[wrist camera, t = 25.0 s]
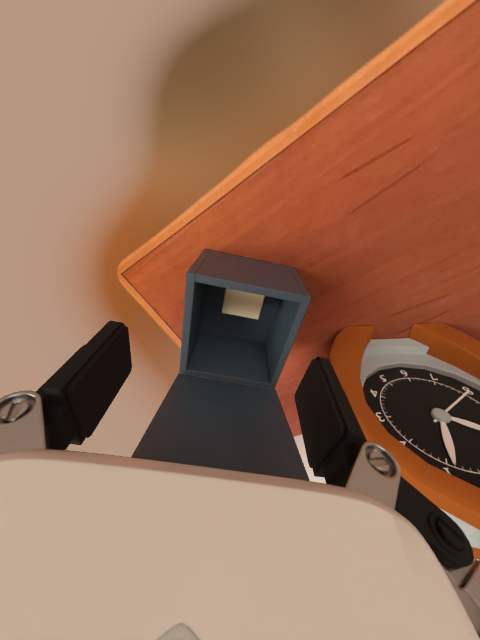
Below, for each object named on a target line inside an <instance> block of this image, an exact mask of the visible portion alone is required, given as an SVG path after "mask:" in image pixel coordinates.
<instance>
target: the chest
mask: <svg viewBox="0 0 480 640" xmlns="http://www.w3.org/2000/svg"><path fill="white" fill-rule="evenodd" d="M226 288H228V289H233V290H238V291H243V292H248V293H253V294H258V295H263V296H265V298H264V302H263V305H262V309H261V312H260V316H259V319H258V320H257V319H252V318H247V317H242V316H236V315H231V314H226V313H222V308H223V303H224V297H225V291H226ZM311 299H312V297H311V295H310V293H309V291H308V290H307V288H306V286H305V284H304V283H303V281H302V279H301V277H300V276H299V274H298V272H297V270H296V269H295V268H293V267H289V266H284V265H279V264H274V263H270V262H265V261H260V260H255V259H251V258H246V257H241V256H236V255H232V254H227V253H222V252H217V251H213V250H208V249H204V250H203V252H202V253H201V254H200V256H199V257H198V258H197V260H196V261H195V262H194V264H193V265H192V266H191V268H190V269H189V270H188V271H187V276H186V290H185V304H184V318H183V331H182V345H181V359H180V373H182V374H187V375H193V376H199V377H205V378H211V379H217V380H223V381H229V382H234V383H240V384H246V385H252V386H258V387H264V388H270V389H275V387H276V384H277V382H278V379H279V377H280V374H281V372H282V370H283V367H284V365H285V362H286V360H287V357H288V355H289V352H290V350H291V348H292V345H293V343H294V340H295V338H296V335H297V333H298V330H299V328H300V326H301V323H302V321H303V318H304V316H305V313H306V311H307V308H308V306H309V304H310V301H311Z"/></svg>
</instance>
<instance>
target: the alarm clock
mask: <svg viewBox="0 0 480 640" xmlns="http://www.w3.org/2000/svg"><path fill="white" fill-rule="evenodd" d="M374 329H375V325H368V326H347V327H345V328H343V329H342V331H341V332H340V333H339V334H338V335H337V336H336V338H335V339H334V341H333V344H332V346H331V349H330V351H329V354H328V359H329V360H330V362H331V364H332V366H333V368H334V370H335V373H336V375H337V377H338V379H339V381H340V384H341V386H342V388H343V390H344V392H345V394H346V396H347V398H348V400H349V402H350V405H351V407H352V409H353V411H354V413H355V416H356V418H357V420H358V422H359V424H360V426H361V429H362V431H363V433H364V435H365V437H366V440H367V441H373V442H376V443H378V444H380V445H382V446H383V447H385V448H386V449H387V450H388V451H389V452H390V453H391V454H392V455H393V456H394V457H395V459H396V460H397V462H398V464H399V467H400V469H401V477H403V478H404V479H405V480H406V481H407V482H409V483H410V484H411V485H412V486H413V487H415V488H416V489H417V490H418V491H419V492H421V493H422V494H423V495H424V496H425V497H427V498H428V499H429V500H430V501H431V502H433V503H434V504H435V505H436V506H437V507H439V508H440V509H441V510H442V511H443V512H445V513H446V514H447V515H448V516H449V517H450V518H451V519H452V520H453V521H454V522H456V523H457V525H458V526H459V527H460V528H461V530H462V531H463V532H464V534H465V535H466V537H467V539H468V540H469V542H470V545H471V547H472V549H473V554H474V557H475V558H476V559H479V560H480V341H479V340H477V339H475V338H473V337H472V336H470V335H468V334H466V333H464V332H462V331H460V330H458V329H456V328H453V327H451V326H449V325H447V324H445V323H419V324H414V325H413V327H412V329H411V332H410V334H409V337H408V338H401V339H372V336H373V333H374Z"/></svg>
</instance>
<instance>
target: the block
mask: <svg viewBox="0 0 480 640" xmlns="http://www.w3.org/2000/svg"><path fill="white" fill-rule="evenodd" d="M264 298H265V296H263V295H258V294H253V293H248V292H243V291H238V290H233V289H228V288H226V291H225V297H224V303H223V308H222V313H226V314H231V315H236V316H242V317H247V318H252V319H257V320H258V319H259V316H260V312H261V309H262V305H263V302H264Z"/></svg>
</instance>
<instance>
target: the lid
mask: <svg viewBox="0 0 480 640" xmlns="http://www.w3.org/2000/svg"><path fill="white" fill-rule="evenodd" d="M131 458H138V459H146V460H154V461H162V462H170V463H178V464H186V465H193V466H201V467H209V468H216V469H224V470H232V471H239V472H247V473H254V474H261V475H269V476H276V477H283V478H291V479H298V480H304V481H309V478H308V475H307V473H306V470H305V467H304V465H303V462H302V459H301V457H300V454H299V451H298V448H297V446H296V443H295V440H294V438H293V435H292V432H291V430H290V427H289V424H288V422H287V419H286V416H285V414H284V411H283V408H282V406H281V403H280V400H279V398H278V395H277V392H276V390H274V389H268V388H262V387H257V386H251V385H245V384H239V383H233V382H227V381H221V380H215V379H210V378H204V377H198V376H192V375H186V374H180V373H179V374H178V376H177V377H176V379H175V381H174V383H173V384H172V386H171V388H170V390H169V391H168V393H167V395H166V397H165V399H164V400H163V402H162V404H161V406H160V407H159V409H158V411H157V413H156V414H155V416H154V418H153V420H152V422H151V423H150V425H149V427H148V429H147V430H146V432H145V434H144V436H143V437H142V439H141V441H140V443H139V445H138V446H137V448H136V450H135V451H134V453H133V455H132V457H131Z"/></svg>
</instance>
